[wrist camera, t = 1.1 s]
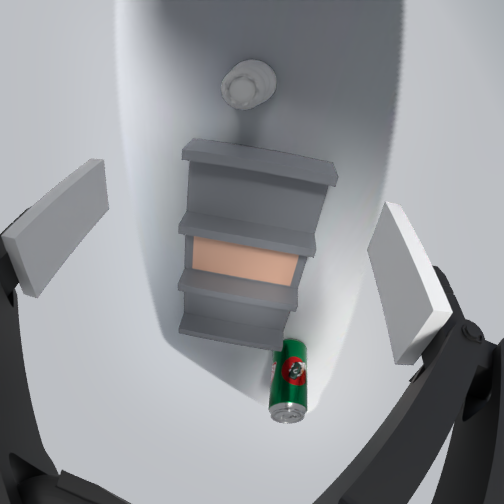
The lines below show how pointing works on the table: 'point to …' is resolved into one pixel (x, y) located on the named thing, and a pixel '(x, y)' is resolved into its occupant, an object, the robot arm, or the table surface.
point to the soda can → (289, 383)
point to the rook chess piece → (248, 84)
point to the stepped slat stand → (247, 239)
